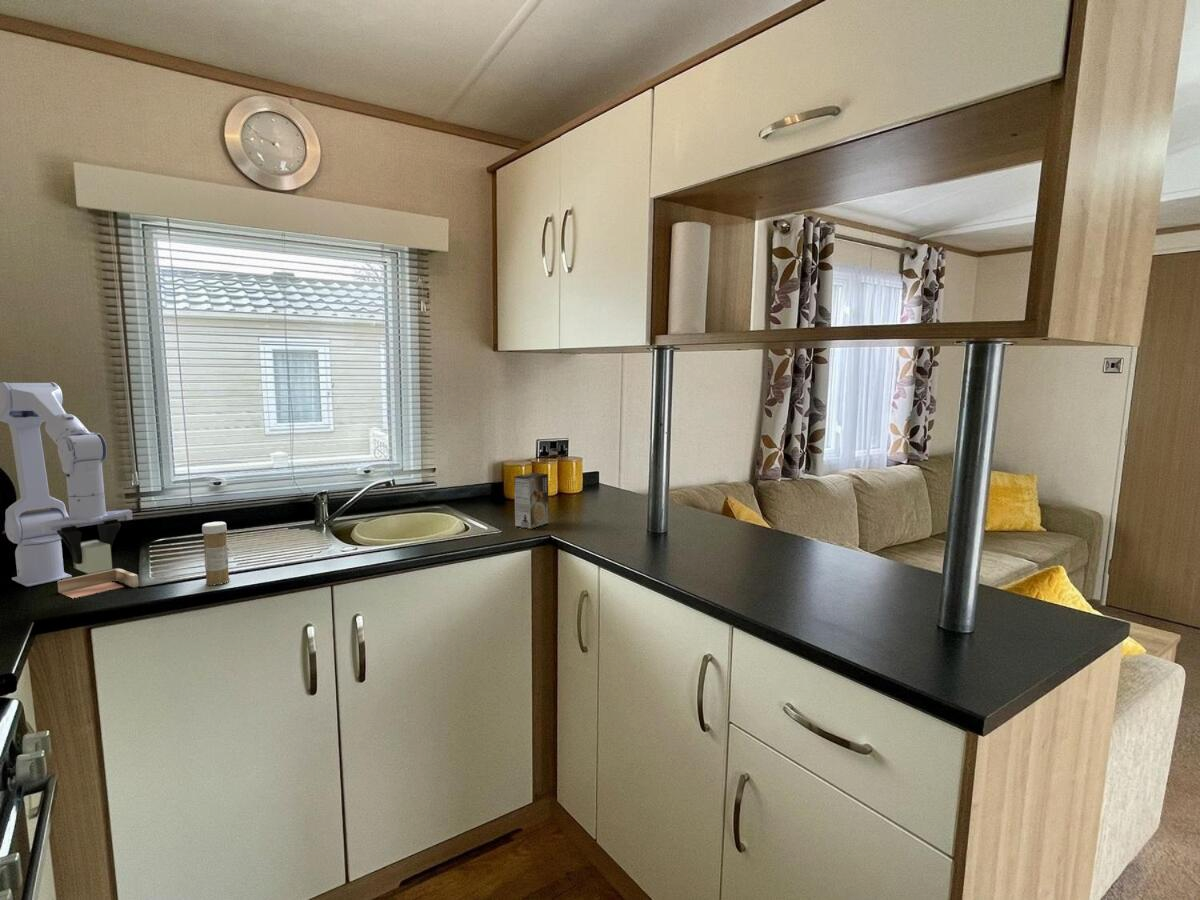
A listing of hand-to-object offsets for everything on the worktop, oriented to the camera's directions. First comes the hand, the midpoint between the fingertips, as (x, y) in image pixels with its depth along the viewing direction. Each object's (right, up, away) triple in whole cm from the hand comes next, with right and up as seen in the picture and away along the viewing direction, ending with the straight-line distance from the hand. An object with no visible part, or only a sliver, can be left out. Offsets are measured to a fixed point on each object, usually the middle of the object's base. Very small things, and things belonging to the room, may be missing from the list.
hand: (92, 560), depth 128 cm
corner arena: (-4, -7, +7) cm, 11 cm away
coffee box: (+82, -1, +67) cm, 106 cm away
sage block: (0, -2, 0) cm, 2 cm away
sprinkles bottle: (+19, -7, +12) cm, 23 cm away
